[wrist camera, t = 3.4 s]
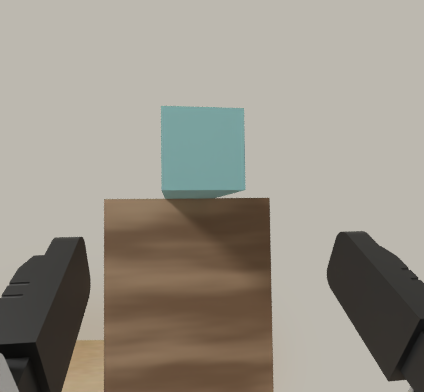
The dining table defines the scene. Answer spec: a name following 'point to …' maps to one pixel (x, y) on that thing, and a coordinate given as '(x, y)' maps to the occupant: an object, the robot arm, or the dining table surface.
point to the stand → (187, 295)
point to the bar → (202, 152)
